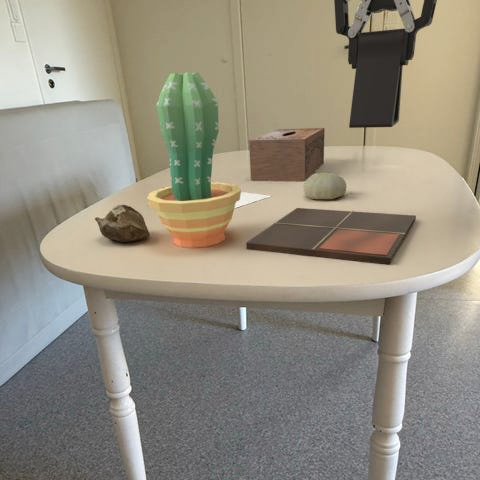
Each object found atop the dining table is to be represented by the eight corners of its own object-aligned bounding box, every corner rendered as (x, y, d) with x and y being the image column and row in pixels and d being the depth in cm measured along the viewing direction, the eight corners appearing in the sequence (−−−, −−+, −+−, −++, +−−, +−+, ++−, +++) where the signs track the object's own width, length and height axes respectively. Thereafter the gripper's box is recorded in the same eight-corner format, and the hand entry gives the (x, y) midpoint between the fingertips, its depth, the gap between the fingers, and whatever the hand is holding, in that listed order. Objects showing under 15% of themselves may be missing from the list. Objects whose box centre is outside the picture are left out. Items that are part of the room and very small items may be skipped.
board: (415, 221, 78) (416, 214, 77) (390, 264, 61) (390, 257, 60) (296, 212, 87) (296, 207, 87) (246, 248, 70) (245, 242, 70)
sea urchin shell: (331, 180, 102) (344, 157, 95) (342, 210, 100) (357, 189, 93) (294, 185, 100) (305, 162, 93) (305, 215, 98) (317, 194, 91)
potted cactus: (250, 225, 81) (242, 68, 70) (235, 254, 68) (222, 66, 56) (170, 226, 84) (149, 75, 72) (140, 254, 71) (108, 75, 59)
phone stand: (391, 127, 63) (401, 25, 57) (348, 128, 65) (354, 30, 59) (399, 121, 70) (408, 30, 64) (360, 122, 72) (366, 34, 67)
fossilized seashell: (84, 226, 78) (110, 247, 72) (98, 191, 77) (126, 209, 71) (120, 238, 84) (147, 258, 78) (134, 205, 83) (162, 223, 77)
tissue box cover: (277, 163, 139) (276, 129, 135) (323, 163, 135) (324, 127, 130) (250, 180, 118) (248, 140, 114) (304, 181, 113) (304, 139, 109)
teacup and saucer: (233, 196, 103) (232, 178, 101) (209, 203, 98) (207, 184, 96) (207, 192, 109) (205, 175, 107) (183, 199, 103) (180, 181, 102)
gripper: (457, -91, 56) (436, 63, 64) (344, -68, 62) (338, 70, 70) (450, -109, 50) (428, 63, 58) (326, -81, 56) (322, 70, 64)
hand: (379, 66), depth 64 cm, fingers closed on phone stand, 6 cm apart
